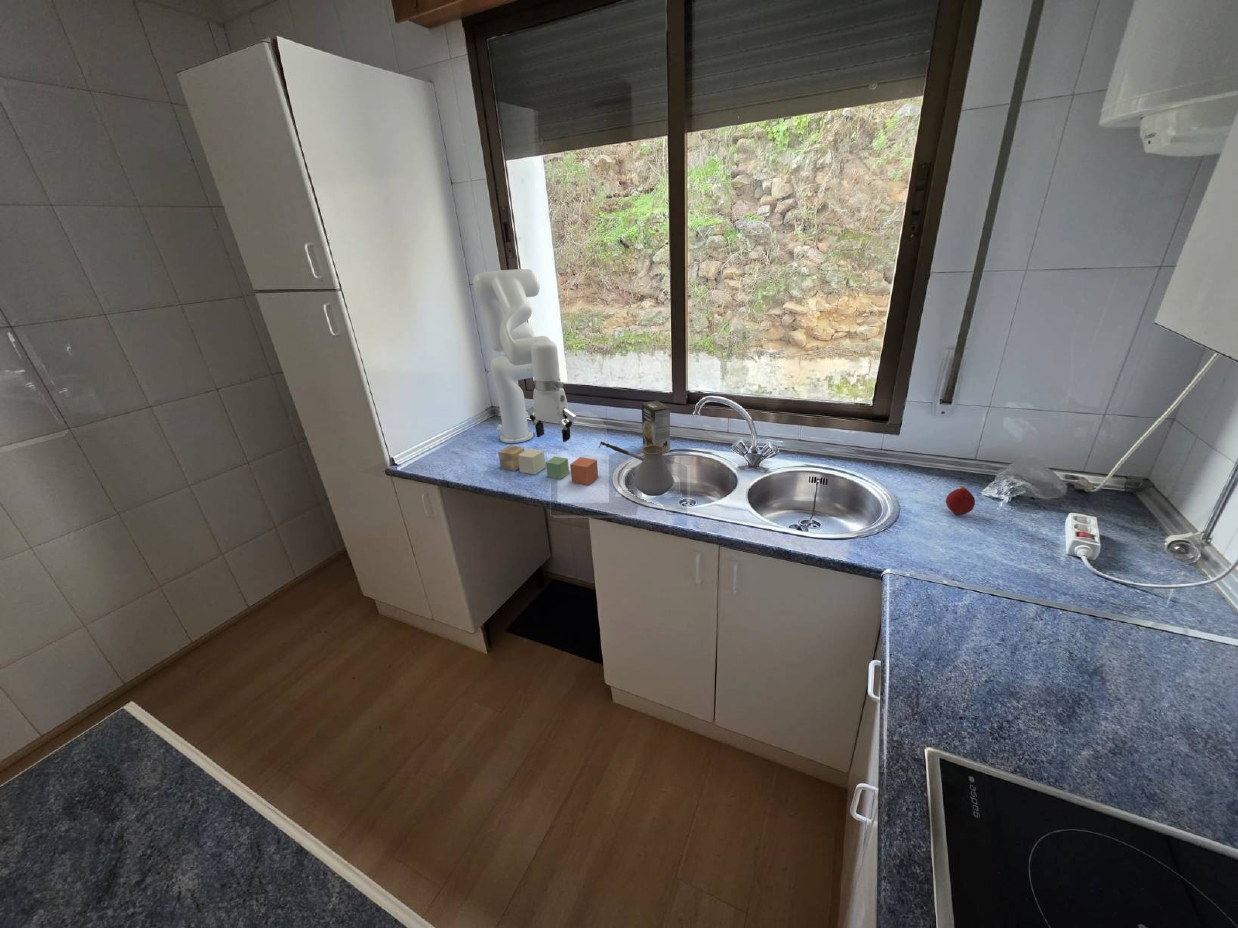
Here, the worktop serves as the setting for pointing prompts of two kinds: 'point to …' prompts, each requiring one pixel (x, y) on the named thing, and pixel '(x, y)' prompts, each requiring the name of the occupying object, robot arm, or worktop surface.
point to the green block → (557, 467)
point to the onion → (960, 501)
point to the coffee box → (656, 424)
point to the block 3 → (584, 470)
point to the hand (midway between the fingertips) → (553, 438)
